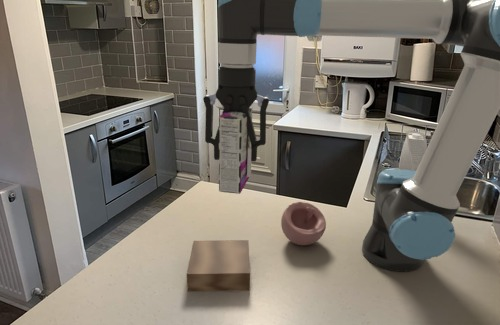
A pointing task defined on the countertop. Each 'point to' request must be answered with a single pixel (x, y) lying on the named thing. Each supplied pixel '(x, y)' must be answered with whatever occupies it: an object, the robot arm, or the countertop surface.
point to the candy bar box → (233, 151)
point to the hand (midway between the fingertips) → (235, 173)
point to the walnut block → (219, 266)
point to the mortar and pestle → (303, 223)
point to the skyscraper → (412, 151)
